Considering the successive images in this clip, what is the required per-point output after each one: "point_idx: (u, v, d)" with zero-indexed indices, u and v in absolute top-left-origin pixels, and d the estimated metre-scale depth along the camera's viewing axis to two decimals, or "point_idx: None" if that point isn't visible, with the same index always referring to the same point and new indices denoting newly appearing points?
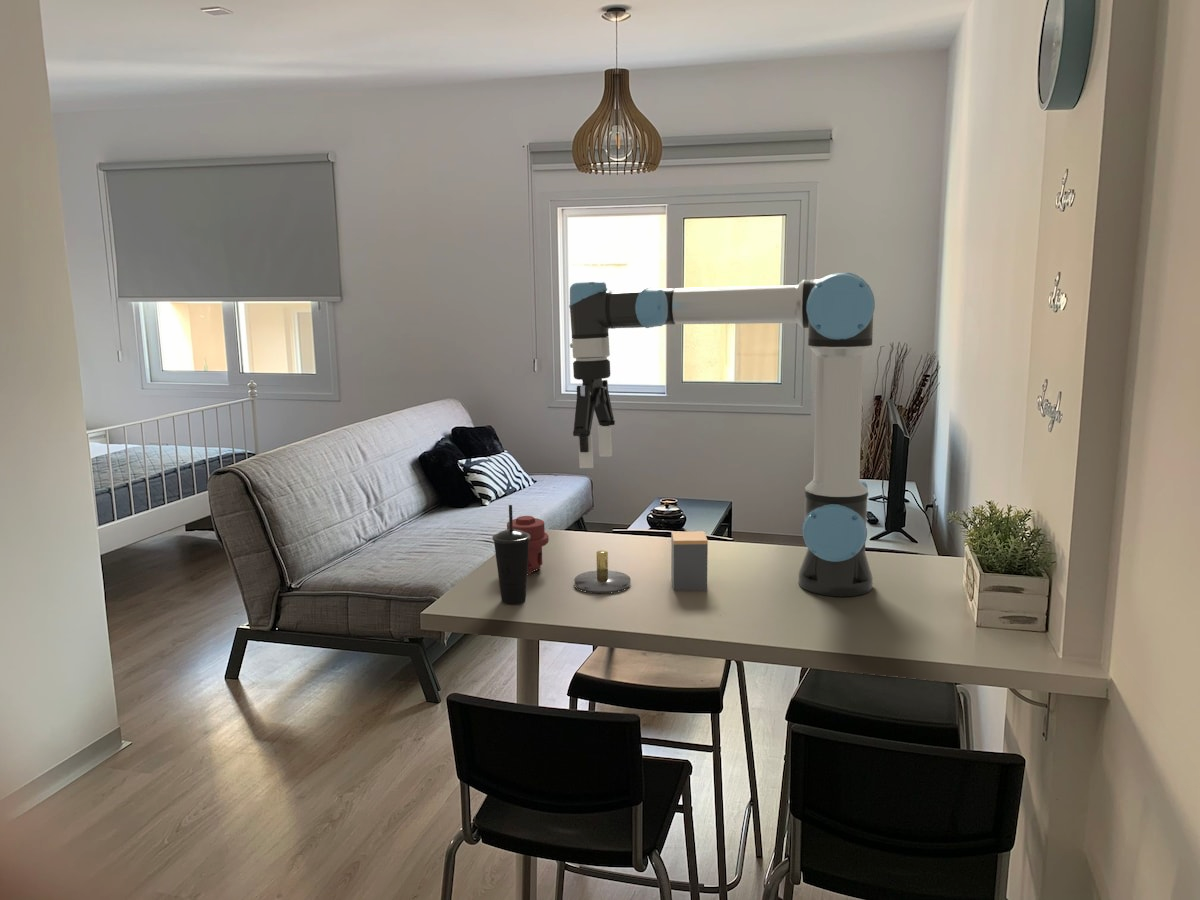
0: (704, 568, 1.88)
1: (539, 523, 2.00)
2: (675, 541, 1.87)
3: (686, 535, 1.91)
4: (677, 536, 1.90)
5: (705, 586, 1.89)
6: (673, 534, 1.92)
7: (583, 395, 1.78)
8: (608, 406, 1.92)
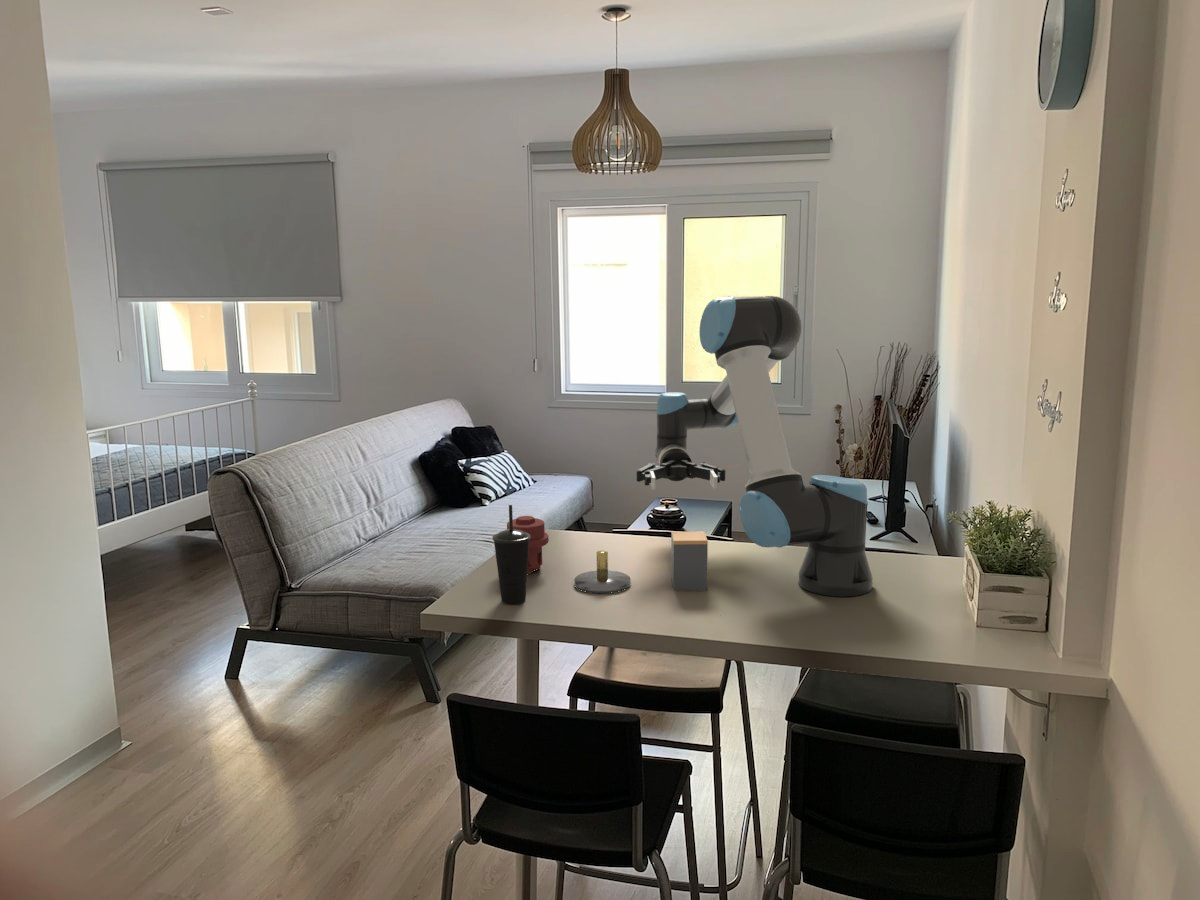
0: (704, 568, 1.88)
1: (539, 523, 2.00)
2: (675, 541, 1.87)
3: (686, 535, 1.91)
4: (677, 536, 1.90)
5: (705, 586, 1.89)
6: (673, 534, 1.92)
7: None
8: (712, 468, 2.08)
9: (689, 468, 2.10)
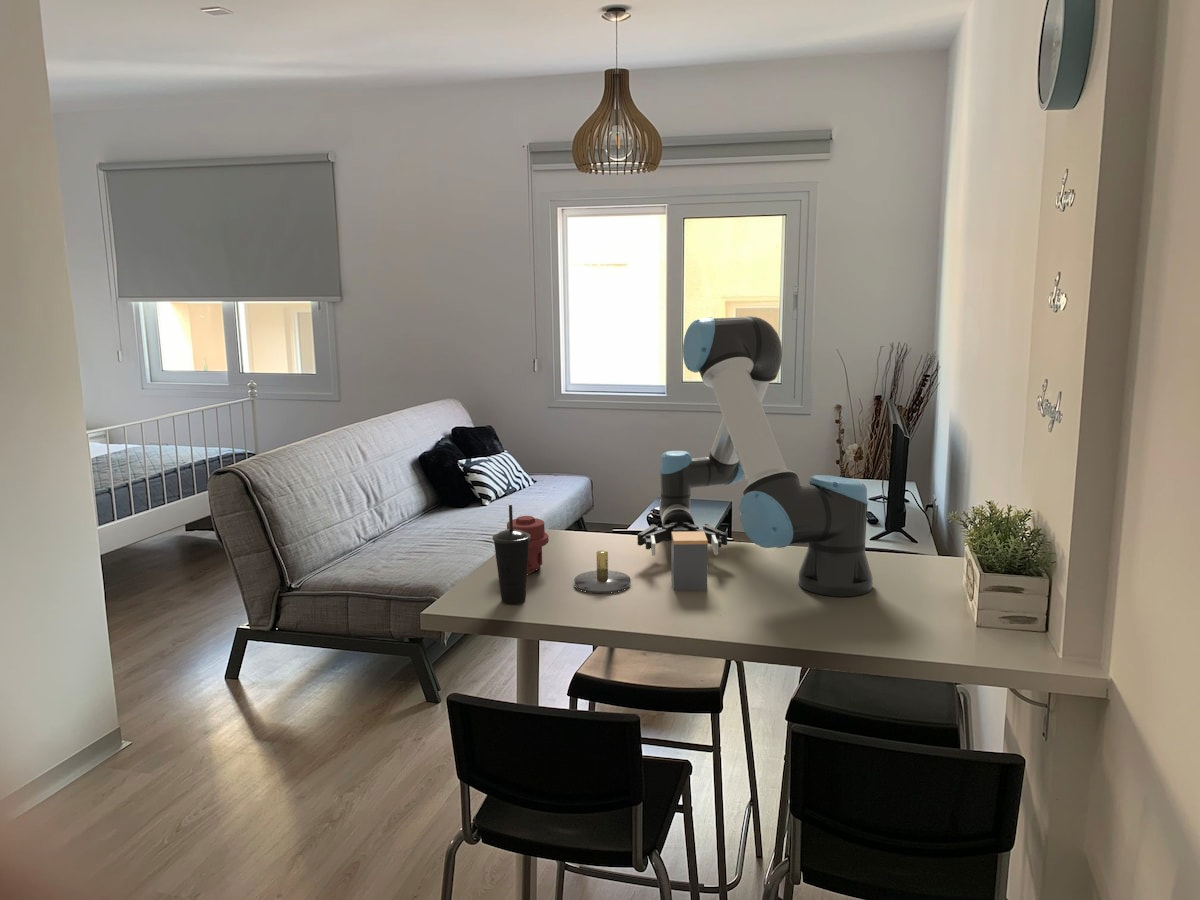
0: (704, 568, 1.88)
1: (539, 523, 2.00)
2: (675, 541, 1.87)
3: (686, 535, 1.91)
4: (677, 536, 1.90)
5: (705, 586, 1.89)
6: (673, 534, 1.92)
7: None
8: (714, 531, 2.06)
9: None
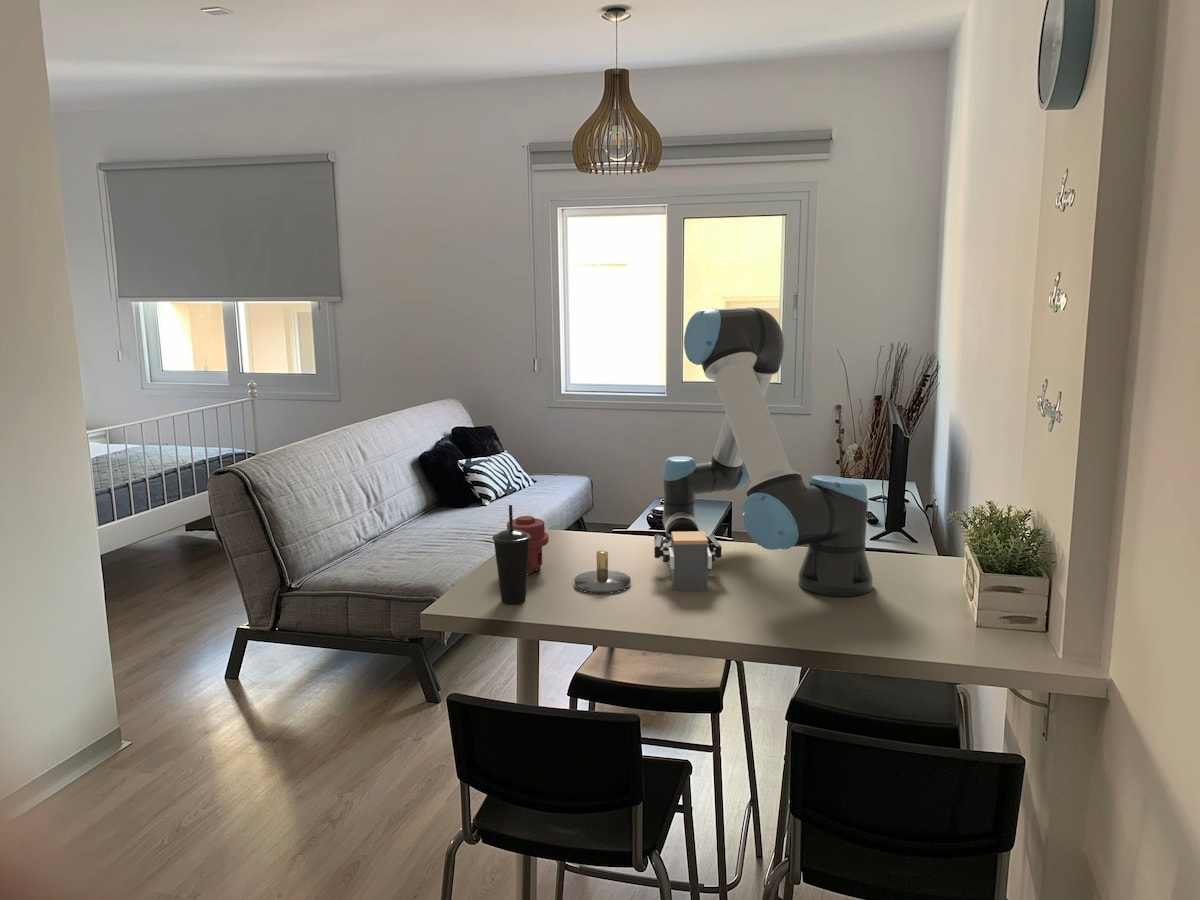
0: (704, 568, 1.88)
1: (539, 523, 2.00)
2: (675, 541, 1.87)
3: (686, 535, 1.91)
4: (677, 536, 1.90)
5: (705, 586, 1.89)
6: (673, 534, 1.92)
7: None
8: (712, 542, 1.97)
9: None
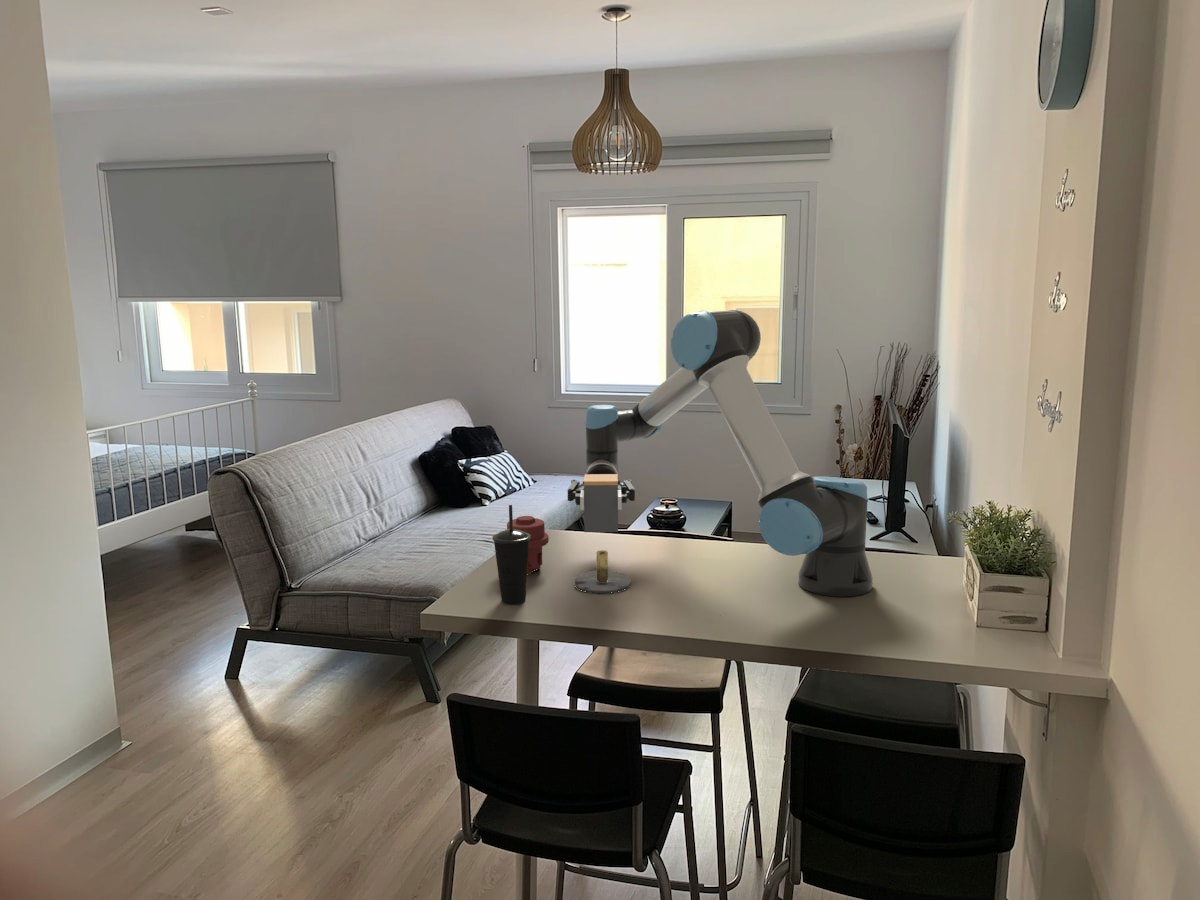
0: (615, 509, 1.87)
1: (539, 523, 2.00)
2: (585, 482, 1.86)
3: (598, 477, 1.90)
4: (589, 478, 1.89)
5: (616, 528, 1.87)
6: (585, 476, 1.90)
7: None
8: (627, 486, 1.96)
9: None
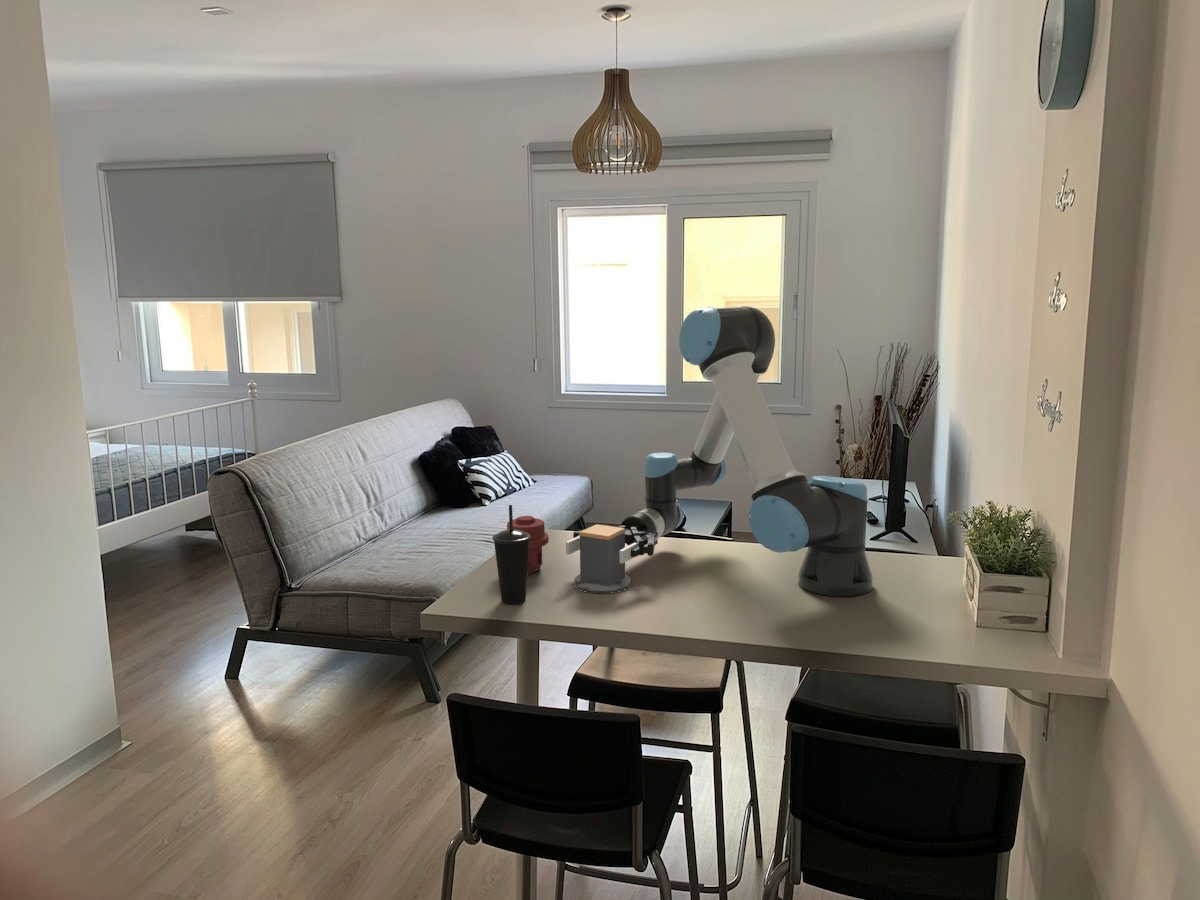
0: (606, 563, 1.88)
1: (539, 523, 2.00)
2: (581, 532, 1.90)
3: (601, 529, 1.92)
4: (591, 529, 1.92)
5: (607, 582, 1.88)
6: (592, 526, 1.94)
7: None
8: (648, 540, 1.94)
9: None
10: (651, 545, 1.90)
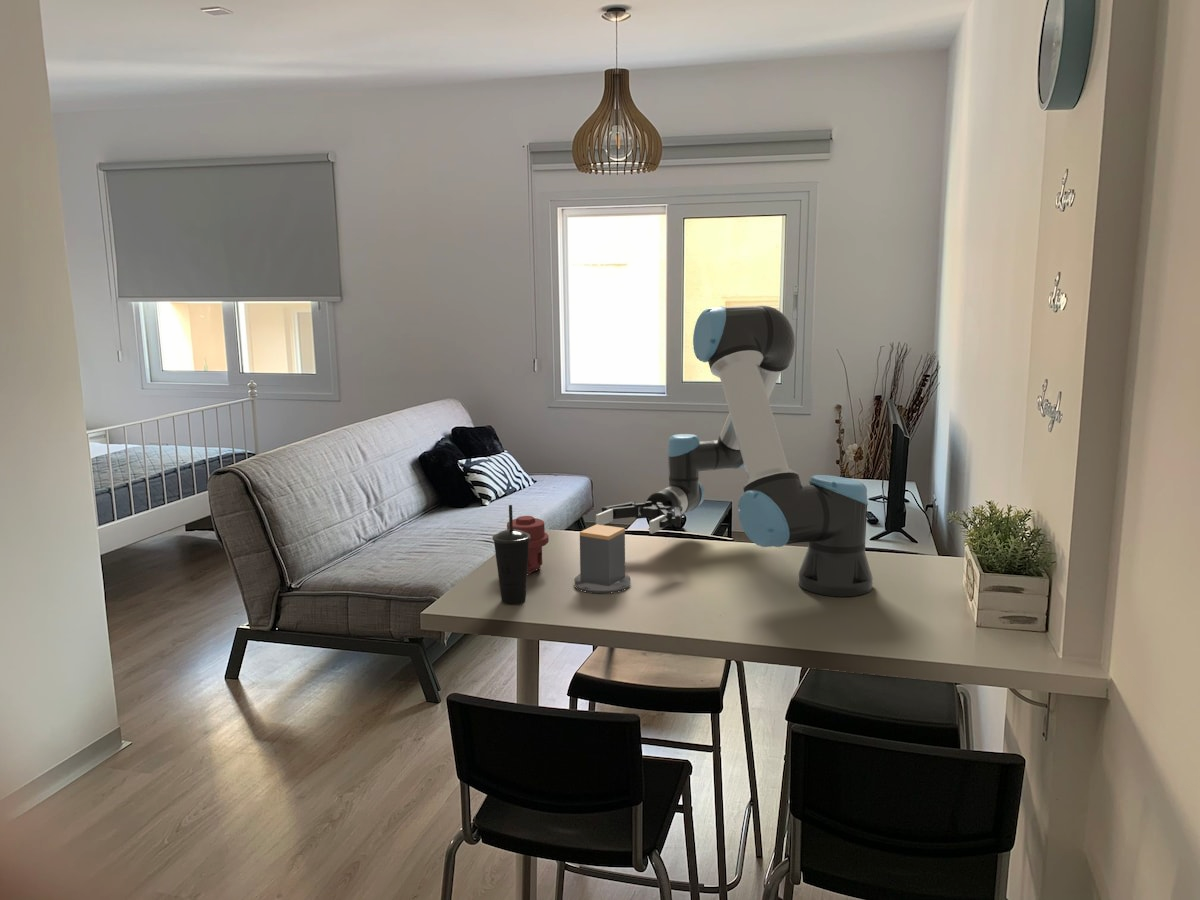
0: (606, 563, 1.88)
1: (539, 523, 2.00)
2: (581, 532, 1.90)
3: (601, 529, 1.92)
4: (591, 529, 1.92)
5: (607, 582, 1.88)
6: (592, 526, 1.94)
7: None
8: (675, 513, 2.05)
9: None
10: (678, 517, 2.01)
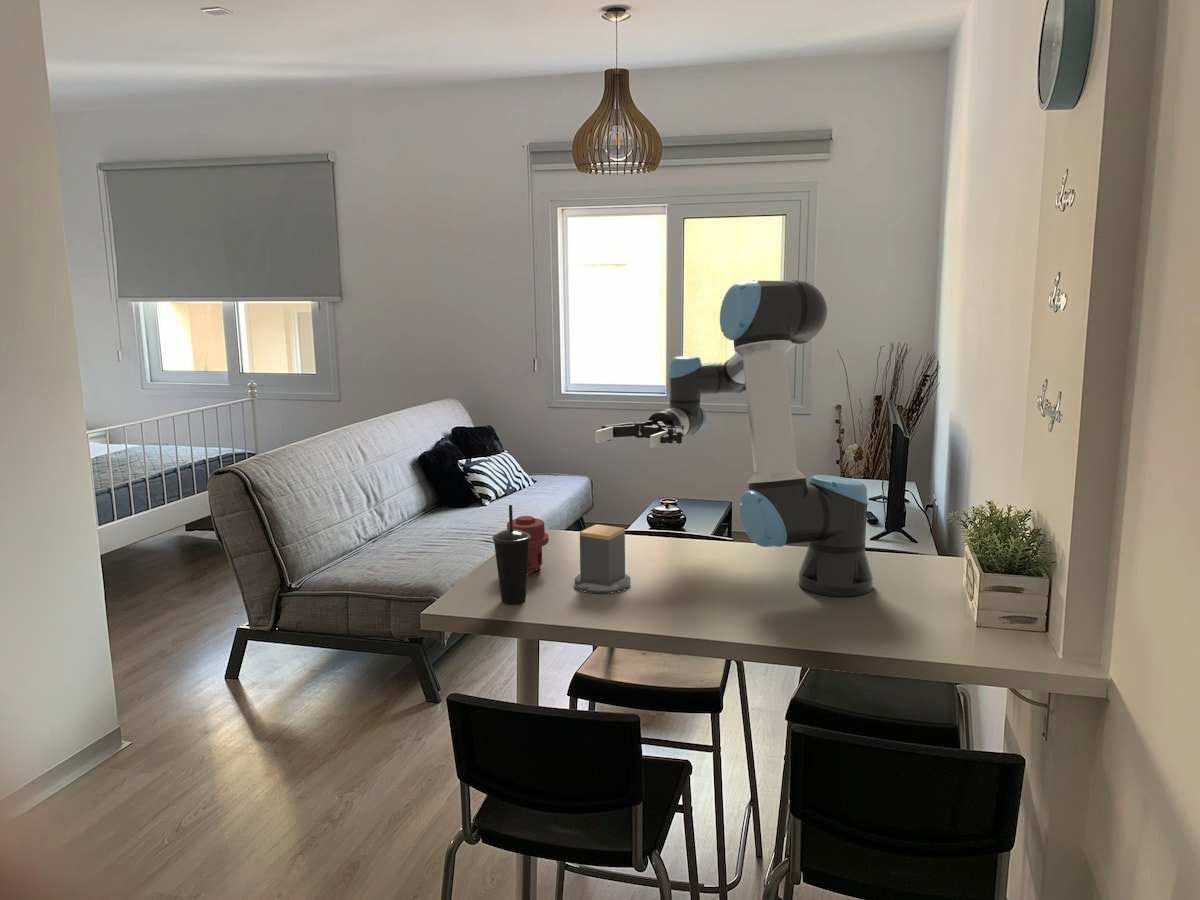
0: (606, 563, 1.88)
1: (539, 523, 2.00)
2: (581, 532, 1.90)
3: (601, 529, 1.92)
4: (591, 529, 1.92)
5: (607, 582, 1.88)
6: (592, 526, 1.94)
7: None
8: (676, 430, 2.01)
9: None
10: (680, 433, 1.97)
